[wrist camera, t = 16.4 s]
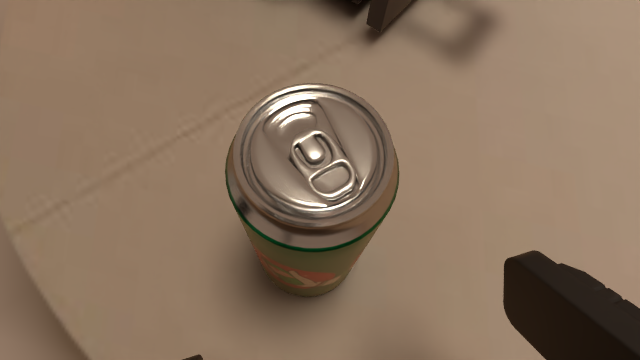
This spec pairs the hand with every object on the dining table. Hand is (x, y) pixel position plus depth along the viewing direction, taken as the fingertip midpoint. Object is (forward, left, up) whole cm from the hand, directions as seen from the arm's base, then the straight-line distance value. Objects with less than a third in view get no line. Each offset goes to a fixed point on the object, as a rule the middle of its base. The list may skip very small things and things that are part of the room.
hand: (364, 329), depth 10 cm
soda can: (0, +5, -11) cm, 12 cm away
